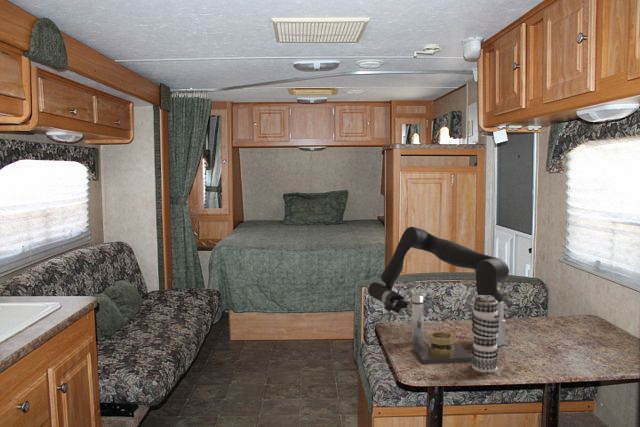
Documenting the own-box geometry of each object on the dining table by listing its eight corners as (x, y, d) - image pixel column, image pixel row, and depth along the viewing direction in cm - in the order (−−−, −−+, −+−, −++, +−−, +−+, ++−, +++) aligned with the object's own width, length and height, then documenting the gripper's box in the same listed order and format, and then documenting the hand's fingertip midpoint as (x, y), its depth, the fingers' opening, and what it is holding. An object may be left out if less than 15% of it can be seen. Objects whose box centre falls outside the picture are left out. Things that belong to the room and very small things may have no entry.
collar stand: (458, 347, 194) (458, 328, 193) (472, 361, 180) (472, 340, 179) (412, 349, 192) (412, 330, 192) (422, 363, 178) (422, 343, 178)
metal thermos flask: (421, 340, 202) (421, 294, 200) (424, 344, 198) (424, 296, 196) (410, 341, 202) (410, 294, 200) (413, 345, 197) (413, 297, 195)
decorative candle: (487, 360, 180) (488, 292, 178) (504, 370, 171) (505, 298, 169) (465, 364, 177) (466, 294, 175) (481, 374, 168) (482, 301, 166)
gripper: (377, 293, 220) (392, 302, 205) (407, 290, 224) (424, 299, 208) (377, 310, 221) (392, 320, 205) (407, 307, 224) (424, 317, 209)
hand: (408, 309), depth 207 cm, fingers open, 8 cm apart
